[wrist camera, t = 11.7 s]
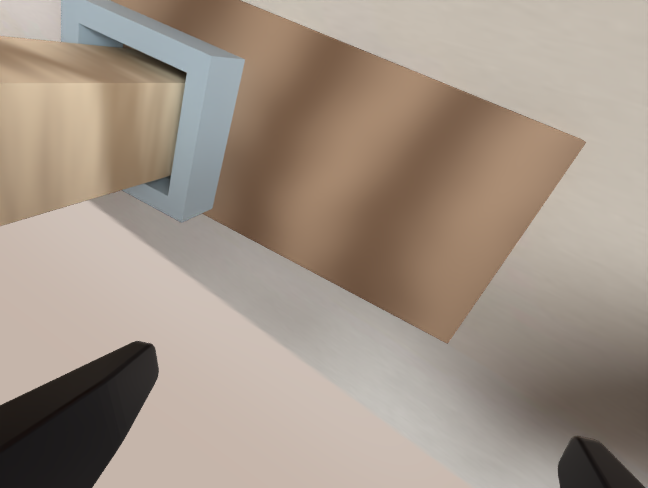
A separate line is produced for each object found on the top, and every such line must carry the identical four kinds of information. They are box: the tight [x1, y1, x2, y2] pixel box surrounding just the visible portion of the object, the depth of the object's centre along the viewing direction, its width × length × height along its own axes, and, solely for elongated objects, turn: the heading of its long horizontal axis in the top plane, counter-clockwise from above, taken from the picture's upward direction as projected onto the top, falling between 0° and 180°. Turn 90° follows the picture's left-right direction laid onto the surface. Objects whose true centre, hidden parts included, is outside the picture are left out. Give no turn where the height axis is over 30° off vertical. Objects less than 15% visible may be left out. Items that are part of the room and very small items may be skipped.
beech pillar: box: [0, 36, 187, 226], centre depth 15 cm, size 4×4×12 cm
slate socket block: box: [61, 0, 245, 223], centre depth 19 cm, size 8×8×2 cm
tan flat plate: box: [111, 0, 586, 344], centre depth 19 cm, size 22×10×1 cm, turn 70°
